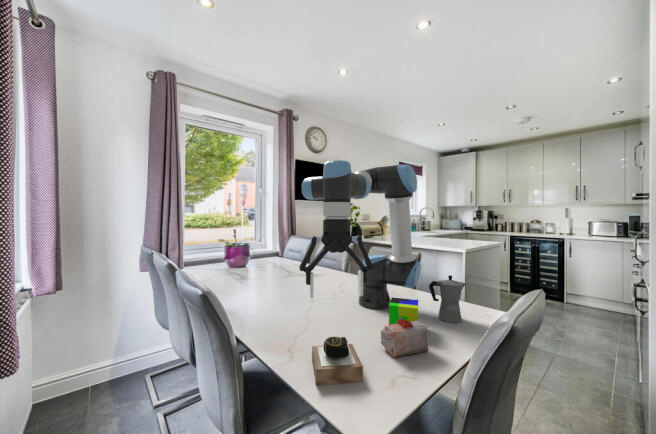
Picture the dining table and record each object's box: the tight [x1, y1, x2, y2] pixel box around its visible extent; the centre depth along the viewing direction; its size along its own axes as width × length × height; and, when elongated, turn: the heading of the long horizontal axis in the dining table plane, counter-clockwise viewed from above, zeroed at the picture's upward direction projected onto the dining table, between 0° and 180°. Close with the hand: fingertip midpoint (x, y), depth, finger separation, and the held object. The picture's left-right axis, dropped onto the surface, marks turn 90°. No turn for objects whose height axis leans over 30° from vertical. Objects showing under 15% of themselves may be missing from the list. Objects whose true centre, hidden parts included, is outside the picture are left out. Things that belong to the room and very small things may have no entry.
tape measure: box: [323, 336, 349, 358], centre depth 74 cm, size 7×7×4 cm
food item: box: [380, 317, 429, 358], centre depth 85 cm, size 14×8×10 cm, turn 109°
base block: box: [311, 343, 364, 386], centre depth 74 cm, size 12×12×4 cm
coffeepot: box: [428, 274, 467, 324], centre depth 111 cm, size 15×9×18 cm, turn 92°
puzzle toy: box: [388, 297, 419, 325], centre depth 101 cm, size 10×10×10 cm
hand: (336, 295), depth 74 cm, fingers open, 13 cm apart
